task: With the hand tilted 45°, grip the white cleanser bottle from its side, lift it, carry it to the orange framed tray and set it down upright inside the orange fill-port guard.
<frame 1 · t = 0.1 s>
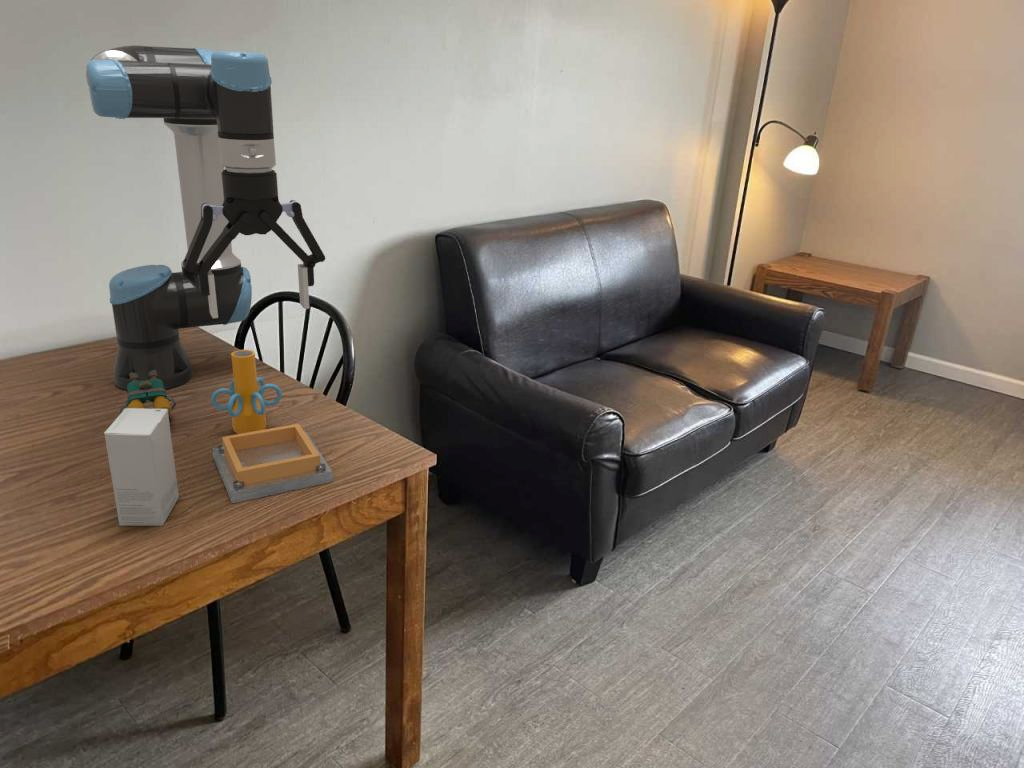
hand: (260, 311, 116), 28 cm above the table, tool pointing down, fingers open, 13 cm apart
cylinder: (250, 429, 140), on the table
skincare box: (151, 513, 114), on the table
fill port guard: (271, 459, 126), resting on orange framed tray
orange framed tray: (272, 469, 127), on the table
binoculars: (151, 427, 139), on the table
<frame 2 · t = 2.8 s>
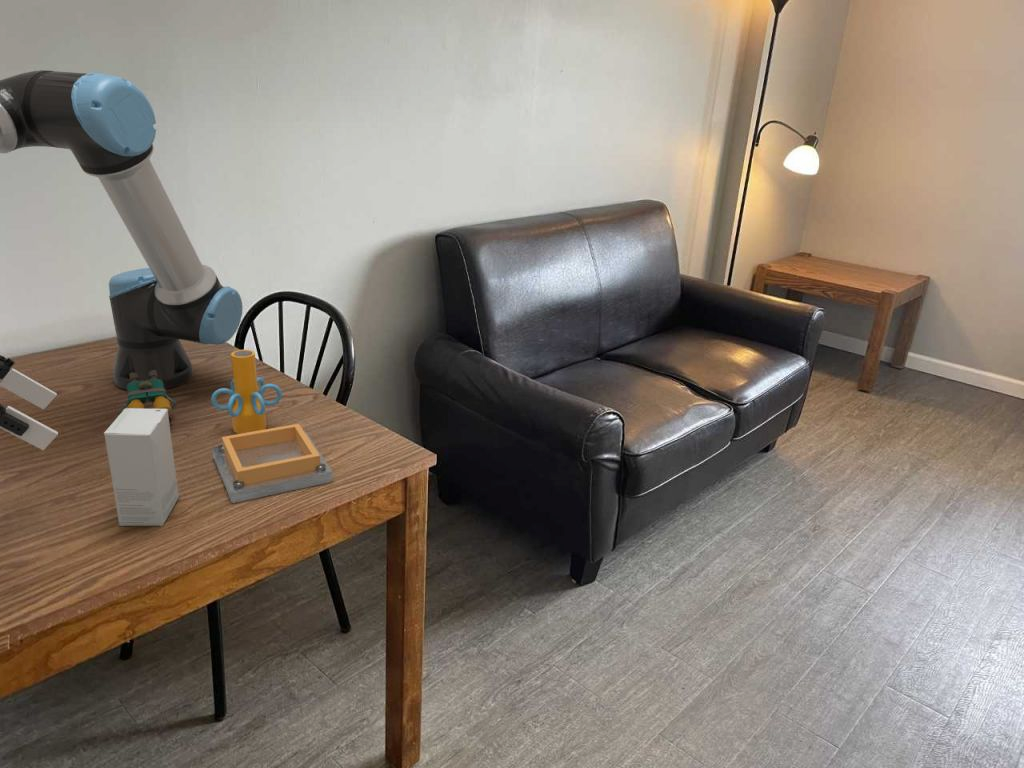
hand: (50, 420, 102), 17 cm above the table, tool tilted 45°, fingers open, 13 cm apart
nothing on the table moved.
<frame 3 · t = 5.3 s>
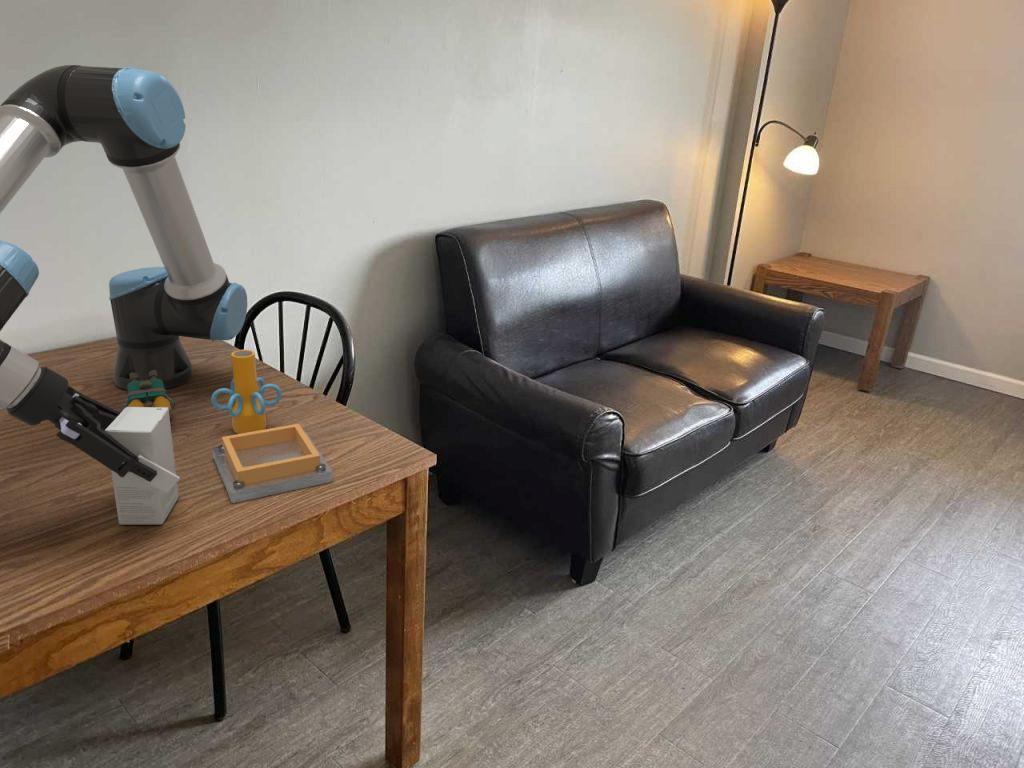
hand: (168, 469, 113), 7 cm above the table, tool tilted 45°, fingers closed on skincare box, 10 cm apart
skincare box: (151, 512, 114), on the table, touching gripper
everything else where it was.
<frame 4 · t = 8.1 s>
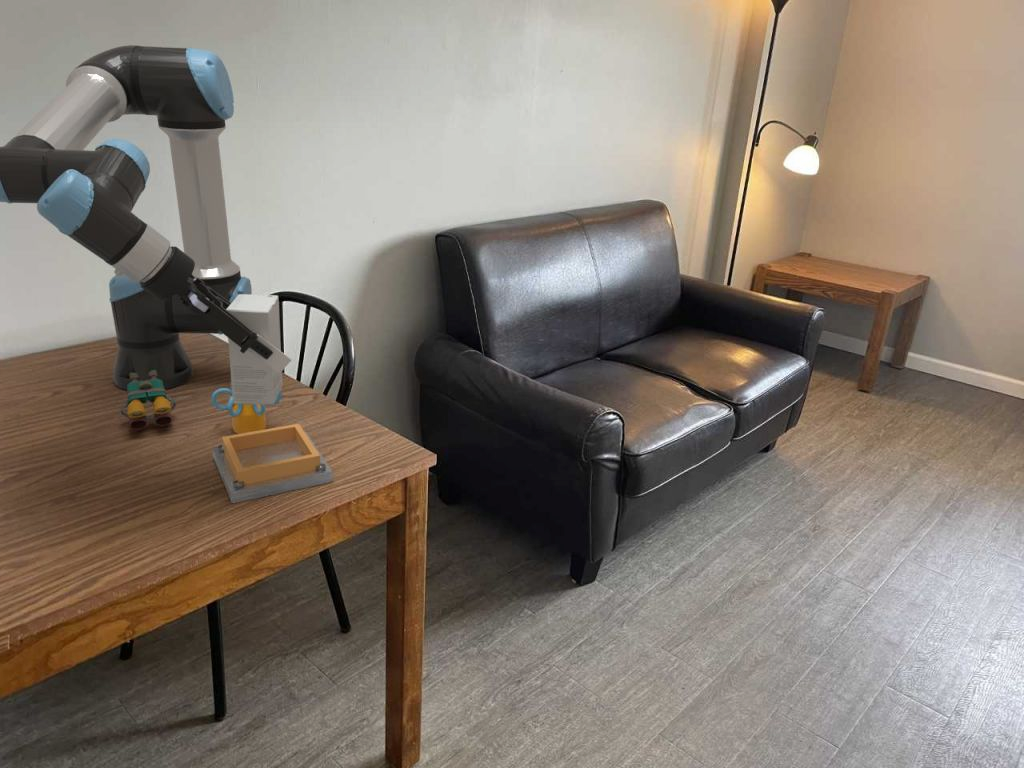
hand: (277, 354, 120), 21 cm above the table, tool tilted 45°, fingers closed on skincare box, 10 cm apart
skincare box: (260, 396, 121), point 14 cm above the table, touching gripper
everything else where it was.
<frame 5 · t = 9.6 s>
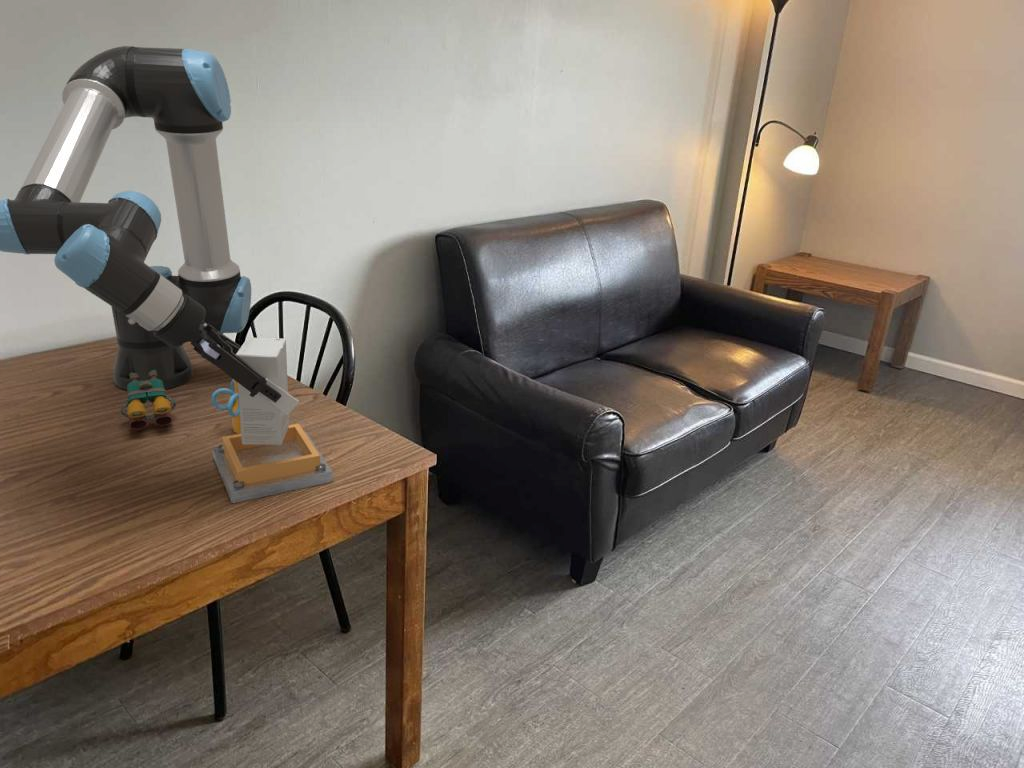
hand: (284, 395, 123), 13 cm above the table, tool tilted 45°, fingers closed on skincare box, 10 cm apart
skincare box: (267, 436, 124), point 7 cm above the table, touching gripper
everything else where it was.
when the fingers open (10 cm above the table, at t = 10.8 s): skincare box drops 1 cm, resting on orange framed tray.
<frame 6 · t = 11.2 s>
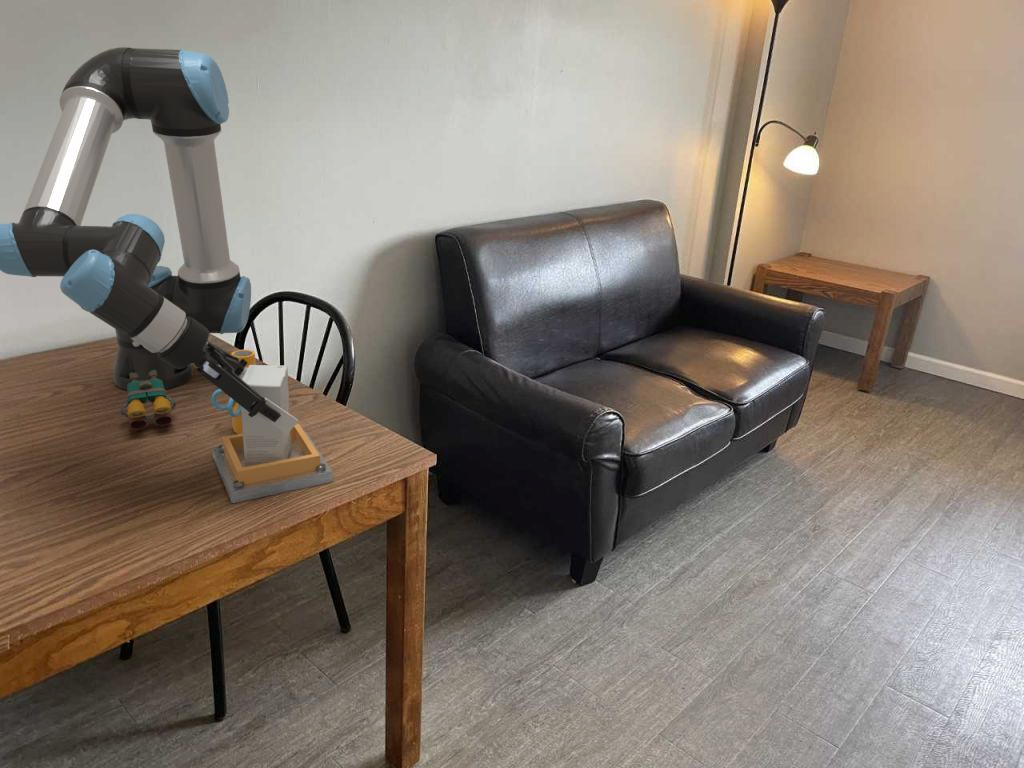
hand: (281, 410, 124), 11 cm above the table, tool tilted 45°, fingers open, 13 cm apart
skincare box: (270, 460, 126), point 2 cm above the table, touching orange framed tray
everything else where it was.
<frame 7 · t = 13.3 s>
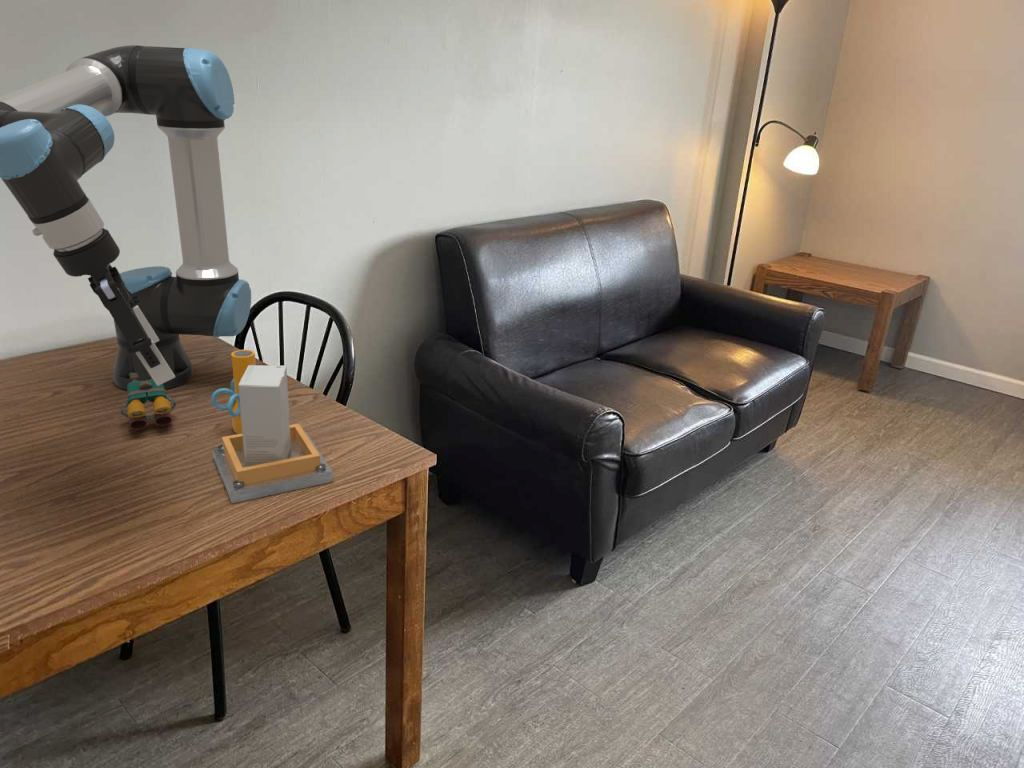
hand: (158, 361, 115), 20 cm above the table, tool tilted 20°, fingers open, 13 cm apart
nothing on the table moved.
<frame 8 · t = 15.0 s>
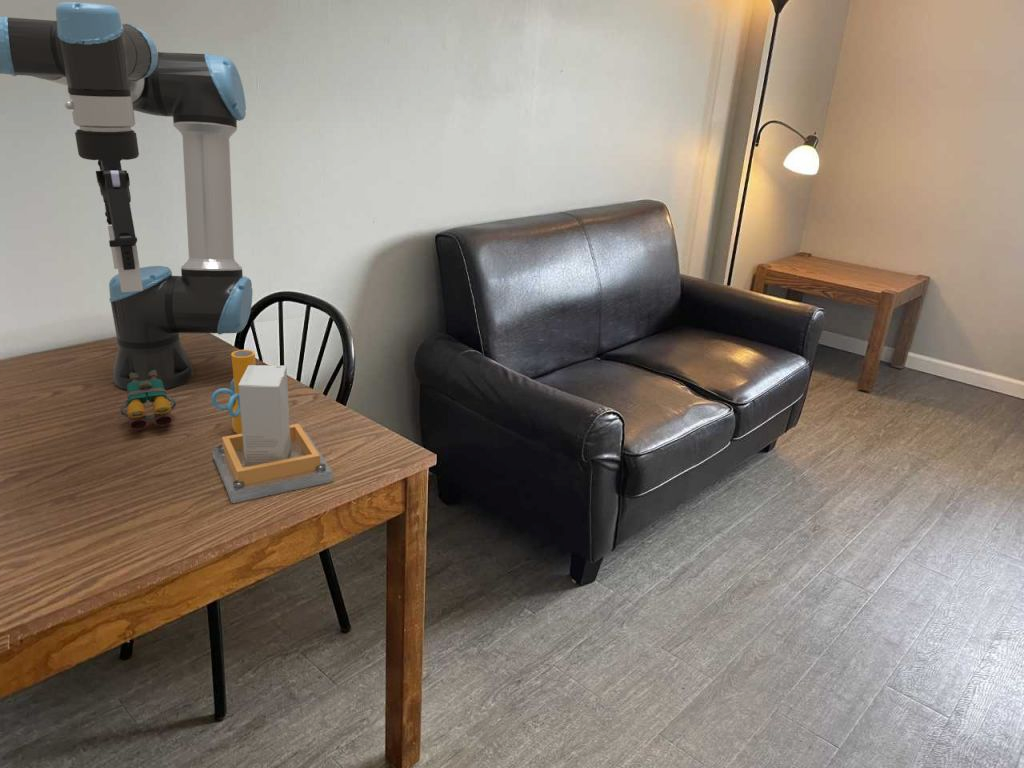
hand: (128, 279, 112), 33 cm above the table, tool pointing down, fingers open, 13 cm apart
nothing on the table moved.
at the end: skincare box inside the target area on the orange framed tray (0.2 cm from its centre), point 1.8 cm above the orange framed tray's base; skincare box tilted 0°; the gripper is holding nothing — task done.
